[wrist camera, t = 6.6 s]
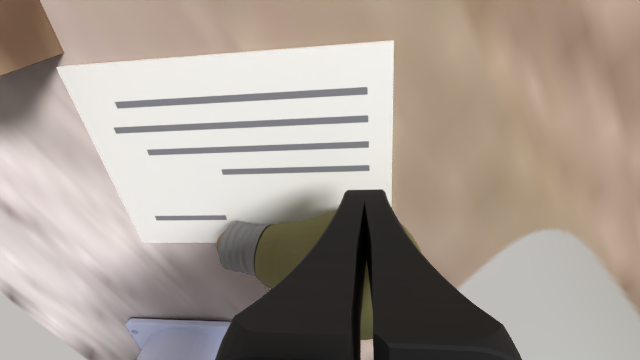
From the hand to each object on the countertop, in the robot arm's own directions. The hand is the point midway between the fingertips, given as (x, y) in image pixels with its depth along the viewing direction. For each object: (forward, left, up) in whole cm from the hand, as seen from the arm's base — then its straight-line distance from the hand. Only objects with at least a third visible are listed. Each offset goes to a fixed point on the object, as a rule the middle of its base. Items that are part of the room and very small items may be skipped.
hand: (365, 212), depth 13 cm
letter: (0, +6, -4) cm, 7 cm away
